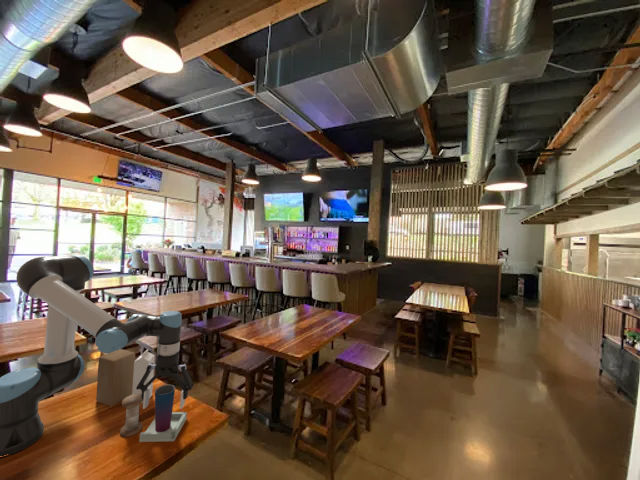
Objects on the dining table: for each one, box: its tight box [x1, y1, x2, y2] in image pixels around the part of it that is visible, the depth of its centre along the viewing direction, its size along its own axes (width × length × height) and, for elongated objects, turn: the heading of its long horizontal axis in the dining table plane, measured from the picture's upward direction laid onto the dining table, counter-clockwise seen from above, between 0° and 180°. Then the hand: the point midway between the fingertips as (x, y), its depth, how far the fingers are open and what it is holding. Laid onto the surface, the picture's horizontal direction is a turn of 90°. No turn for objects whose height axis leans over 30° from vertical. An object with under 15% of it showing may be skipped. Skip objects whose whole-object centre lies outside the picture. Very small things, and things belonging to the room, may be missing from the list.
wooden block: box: [95, 348, 136, 407], centre depth 119 cm, size 10×10×20 cm
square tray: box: [139, 411, 188, 443], centre depth 103 cm, size 12×12×3 cm
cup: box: [154, 384, 176, 432], centre depth 103 cm, size 7×7×15 cm
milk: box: [132, 348, 155, 404], centre depth 120 cm, size 6×6×22 cm
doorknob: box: [119, 394, 144, 438], centre depth 102 cm, size 7×7×12 cm
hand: (164, 406), depth 103 cm, fingers open, 13 cm apart
